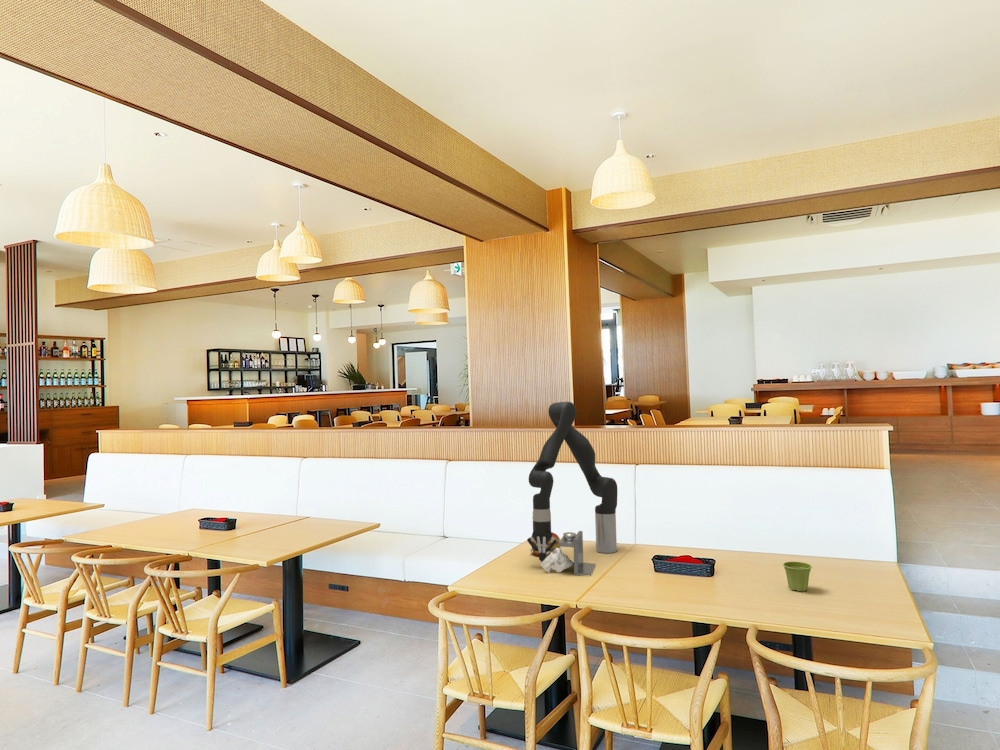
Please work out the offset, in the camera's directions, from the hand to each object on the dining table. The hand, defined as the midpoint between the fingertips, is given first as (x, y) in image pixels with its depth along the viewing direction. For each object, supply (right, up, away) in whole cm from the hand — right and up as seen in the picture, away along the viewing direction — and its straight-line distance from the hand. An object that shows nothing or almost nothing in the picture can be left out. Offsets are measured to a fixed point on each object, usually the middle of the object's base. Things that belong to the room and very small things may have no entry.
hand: (542, 561), depth 266 cm
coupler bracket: (+14, -2, -5) cm, 15 cm away
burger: (+3, -3, +22) cm, 22 cm away
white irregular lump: (+6, -3, -5) cm, 8 cm away
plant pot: (+89, 0, -37) cm, 96 cm away
